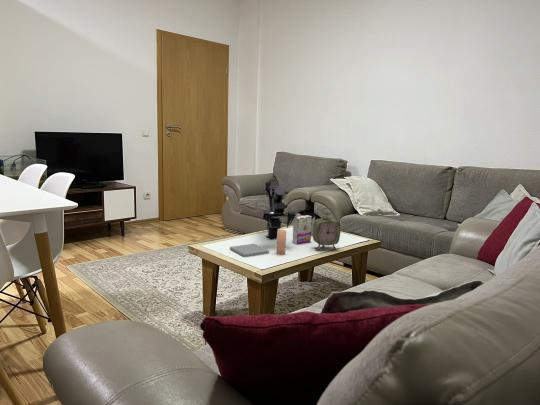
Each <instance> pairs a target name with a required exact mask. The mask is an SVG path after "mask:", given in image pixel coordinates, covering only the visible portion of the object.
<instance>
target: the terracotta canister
mask: <svg viewBox="0 0 540 405" xmlns="http://www.w3.org/2000/svg"><path fill="white" fill-rule="evenodd" d="M286 245H287V230H285V229H278V231H277V238H276V248H275V249H276V251H275V252H276V255H278V256H279V255H280V256H281V255H282V256H284V255H286V247H287V246H286Z"/></svg>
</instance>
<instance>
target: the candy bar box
mask: <svg viewBox="0 0 540 405" xmlns="http://www.w3.org/2000/svg"><path fill="white" fill-rule="evenodd" d="M292 221H293V222H292V223H293V224H292V243H293V244H295V245H302V244H307V243H311V240H312V237H311V224H312V216H308V215H305V216H303V215H301V216H300V215H298V216H295V218H294V219H293V220H292Z"/></svg>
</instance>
